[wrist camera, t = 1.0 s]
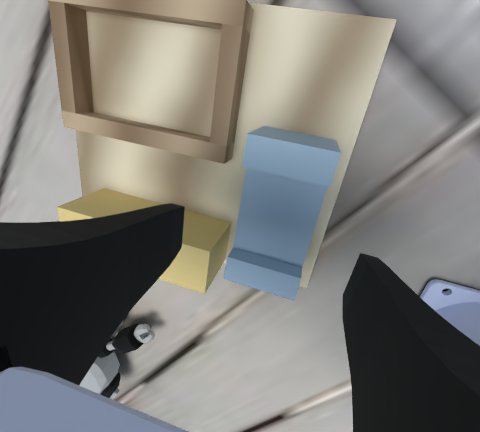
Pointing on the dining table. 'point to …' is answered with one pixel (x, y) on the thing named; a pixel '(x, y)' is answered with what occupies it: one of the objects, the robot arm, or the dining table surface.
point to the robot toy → (114, 359)
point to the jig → (208, 93)
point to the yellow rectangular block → (193, 242)
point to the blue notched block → (279, 207)
